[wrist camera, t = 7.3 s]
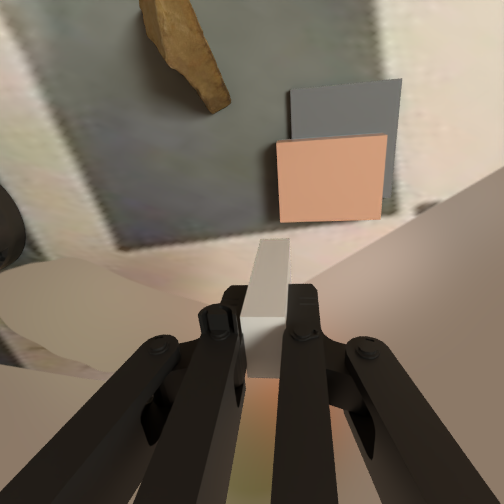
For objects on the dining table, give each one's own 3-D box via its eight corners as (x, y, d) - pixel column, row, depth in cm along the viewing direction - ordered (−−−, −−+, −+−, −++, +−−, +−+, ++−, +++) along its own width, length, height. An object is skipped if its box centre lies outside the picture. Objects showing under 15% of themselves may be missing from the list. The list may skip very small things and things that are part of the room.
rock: (257, 115, 31) (252, -20, 26) (183, 135, 26) (156, -27, 21) (190, 106, 38) (174, -3, 32) (120, 120, 33) (88, -6, 27)
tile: (280, 222, 34) (380, 219, 33) (276, 142, 31) (387, 135, 29) (281, 215, 37) (375, 211, 35) (278, 139, 33) (381, 132, 32)
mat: (294, 199, 36) (293, 201, 36) (290, 89, 32) (290, 89, 31) (388, 195, 35) (390, 197, 34) (399, 78, 30) (402, 78, 29)
